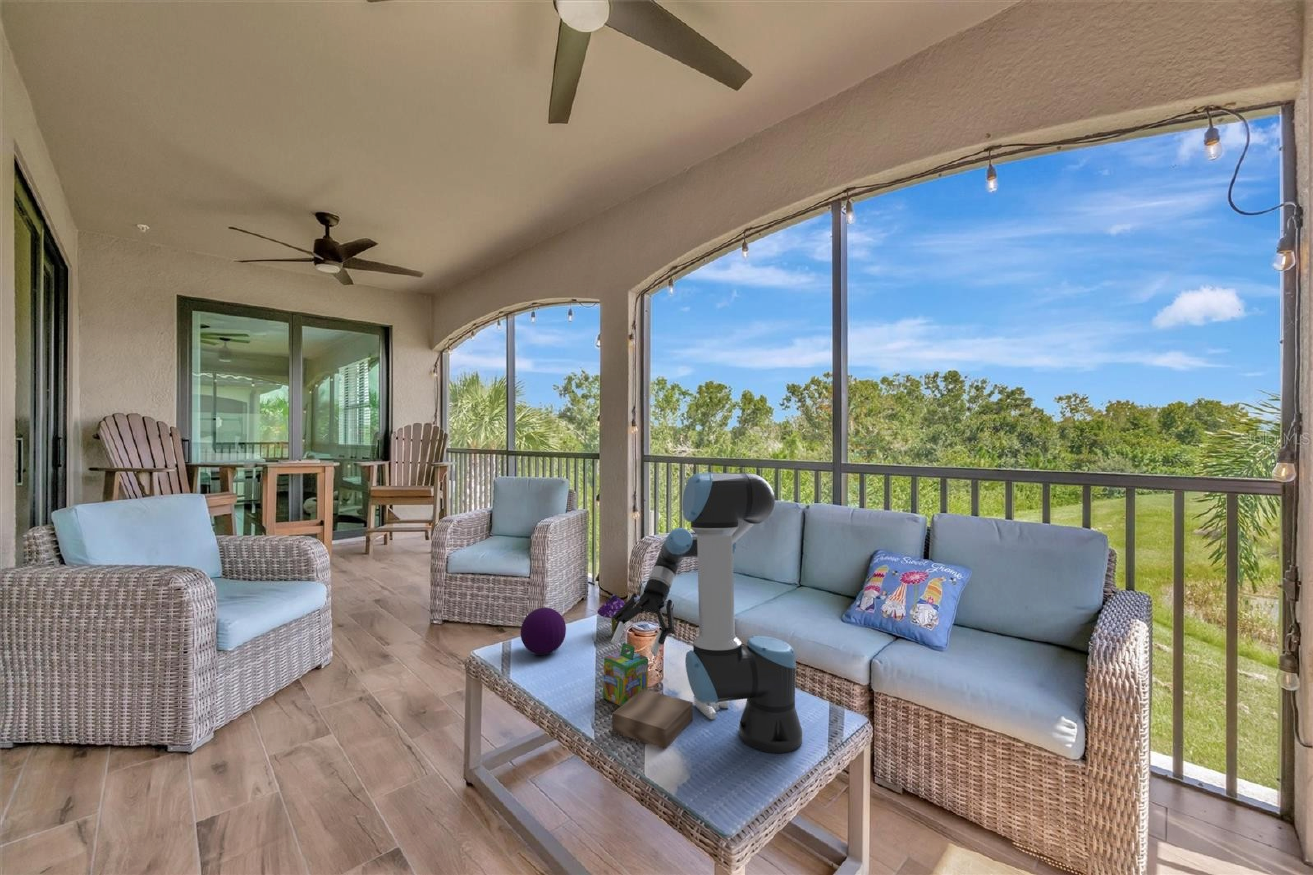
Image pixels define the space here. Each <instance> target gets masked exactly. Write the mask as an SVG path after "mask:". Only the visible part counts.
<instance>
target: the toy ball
mask: <svg viewBox="0 0 1313 875" xmlns="http://www.w3.org/2000/svg"><path fill="white" fill-rule="evenodd" d="M566 633H567V625H566V622H565V619H564V617H563V616H562V615H561V613H560V612H558V611H557V610H555V609H554V608H550V607H538V608H536V609H534V610H532V611H530V613H528V614H527V615H526V616H525V617H524V620H523V621H522V624H521V628H520V639H521V642H522V644H523V646H524V647H525V649H526V650H528V651H529V652H531V653H532V654H534V655H540V656H546V655H549V654H551V653H553V652H555V651H557V650H558V649H559V648H560V647H561V646H562V644H563V643H564V640H565V638H566Z"/></svg>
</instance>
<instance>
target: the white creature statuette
mask: <svg viewBox="0 0 1313 875" xmlns="http://www.w3.org/2000/svg"><path fill="white" fill-rule="evenodd" d="M693 704H694V706H695V707H696V708H697V709H698V711H699V712H701V713H702V714H703V715H704V716H706V717H707V719H709V720H715V719H716V718H717V712H718V711H719V710H720V709H729V707H730V701H724V702H718V703H714V702H713V703H702V702H700V701H698V700H697V699H696V697H695V696H694V695H693Z"/></svg>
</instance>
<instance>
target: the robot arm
mask: <svg viewBox="0 0 1313 875" xmlns="http://www.w3.org/2000/svg"><path fill="white" fill-rule="evenodd" d="M682 494H683V495H682V506H681V508H682V515H683V518H684V520H685V521H687V522H689V523H690V529H691V530H692V532H690V531H689V530H688V529H686V528H683V527H677V528H673V529H672V530H671V532H669V534H668V535H667V536H666V538H665V540H664V541H663V544H662V545H661V547H660V550H659V553H658V555H657V558H656V561H655V563H654V566H653V567H652V570H651V572H650V574H649V576H648V580H647V581H646V584H645V586H644V589H643V592H642V594H641V595H638V594H637V593H636V592H633V594H632V595H631V597H630V598H629V599H628V601H627V602H625V605H624V606H623V607H622V608H621V609H620V610H619V611H618V612H617V613H616V614H615V615H614V616H613V617H614V619H615V620H616V621H617V624H616V626H615V628H614V632H615V633H614V635H612V639H611V640H610V643H612V645H613V646H614V647H617V646H618V644H619V642H620V639H621V637H622V634H623V633H624V630H625V627H626V626H625V624H626V623H627V622H629V621H631V619H633V618H634V617H636V616H638V615H639V614H642V613H643V612H645V613H647V614H648V613H651V615H655V614H656V617H657V619H658V622H659V625H660V628H661V629H659V630H658V631H657V634H656V637H655V640H654V643H653V645H652V648H651V650H650V652H651V653H652V655H653V656H655V657H657V656H658V653H659V650H660V648H661V645H665V642H666V639H667V637H668V635H669V634H672V635H673V634H675V633H676V629H675V628H676V627H675V622H674V621H675V620H674V612H673V611H674V607H675V603H674V602H673V600H671V599H668V597H669V594H670V589H671V588H672V586H673V583H674V580H675V579H676V578H675V577H676V574H677V573H678V570H679V568H680V566H681V564H682V562H683V560H684V559H685V558H697V583H698V584H697V585H698V588H697V589H698V628H699V629H698V632H699V633H698V636H697V637H696V638H695V639H694V640H693V642H692V648H693V649H692V650H689V651H687V652H686V654H685V659H684V660H685V671H686V675H687V680H688V683H689V686H690V690H691V691H692V694H693V697H694V696H695V697H696V699H697V700H698V701H700V702H702V703H713V702H714V703H718V702H724V701H729V702H730V701H739V700H746V704H745V706H744V708H743V711H742V715H741V717H740V720H739V725H738V726H739V730H738V732H739V736H740V739H741V740H742V741H743V742H744V743H745V744H746V745H748V746H749V747H751V748H752V749H755V750H757V751H761V752H764V753H770V754H784V753H789V752H792V751H795V750H797V749H798V748H799V747H800V746H801V744H802V742H803V730H802V729H803V728H802V726H801V722H800V718H799V716H798V712H797V709H796V669H797V663H796V652H795V650H794V648H793V647H792V646H791V645H790V644H789V643H787V642H785V641H784V640H781V639H778V638H774V637H771V636H767V635H752V636H750V637H748V638H747V640H746V646H745V645H744V646H742V641H741V639H739V637H737V635H736V626H735V625H736V624H735V622H736V620H735V619H736V618H735V588H734V587H735V586H734V585H735V584H734V556H733V554H734V553H735V551H736V549H737V548H736V547H737V541H738V540H740V539H741V537H742V536H743V535H745V534H746V532H748V531H749V530H750V529H751V528H752V527H753V526H754V525H757V524H761V523H763V522H764V521H765V520H767V519H768V517H769V516H770V515H772V513H773V511H774V508H775V505H776V504H775V503H776V498H775V494H774V491H773V488H772V486H771V485H770V483H769V482H767V480H765V479H764V477H761V476H759V475H758V474H756V473H752V472H702V473H694V474H692V475H690V477H689V478H688V480H687V482H686V484H685V487H684V491H683V493H682ZM664 607H665V609H666V618H667V623H666V621H665V617H664V616H663V613H662V610H661V609H663V608H664Z"/></svg>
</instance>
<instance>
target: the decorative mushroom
mask: <svg viewBox="0 0 1313 875" xmlns="http://www.w3.org/2000/svg"><path fill="white" fill-rule="evenodd" d="M625 604H626V602H624V600H622V599H621V598H620V597H619V596H618V595H617V594H612V595H611V596H610V598H608V599H607V600H606V601H604V602H603V604H602V605H601V606H600V607H599V608H598V610H597V614H598V616H600V617H603V618H609V619H611V635H612V636H614V633H615V632H614V628H615V626H616V624H617V621H616V620H615V619H614V617H613V616H614V615H615V614H616V613H617V612H618V611H619V610H620V609H621V608H622V607H623V606H624V605H625Z"/></svg>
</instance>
